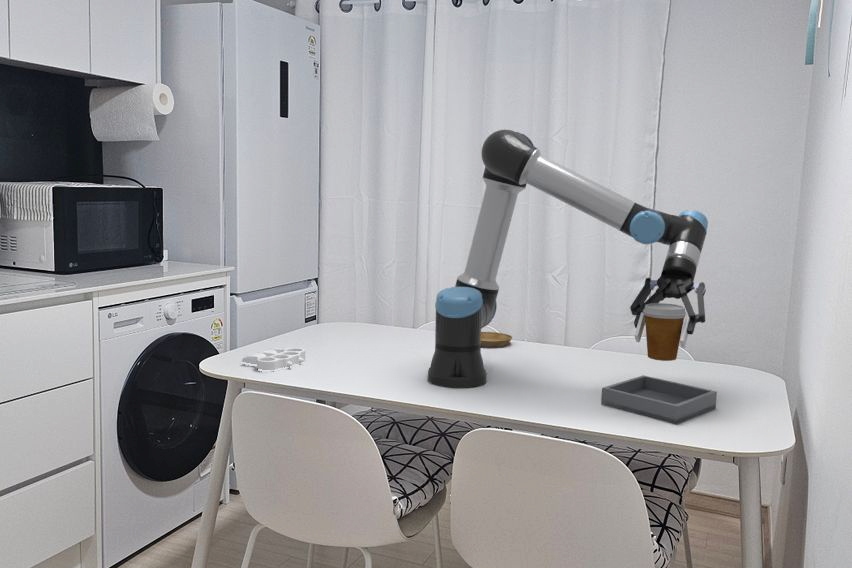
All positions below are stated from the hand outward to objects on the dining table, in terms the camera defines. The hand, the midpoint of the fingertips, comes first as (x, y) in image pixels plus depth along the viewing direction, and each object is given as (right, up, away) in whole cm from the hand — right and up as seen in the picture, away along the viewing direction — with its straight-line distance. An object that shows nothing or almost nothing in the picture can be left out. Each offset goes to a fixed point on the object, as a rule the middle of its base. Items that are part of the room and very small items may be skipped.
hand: (659, 341), depth 174 cm
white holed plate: (-94, -10, +38) cm, 101 cm away
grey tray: (+1, -15, +5) cm, 16 cm away
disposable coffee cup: (+2, -4, +3) cm, 6 cm away
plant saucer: (-33, -6, +70) cm, 77 cm away
